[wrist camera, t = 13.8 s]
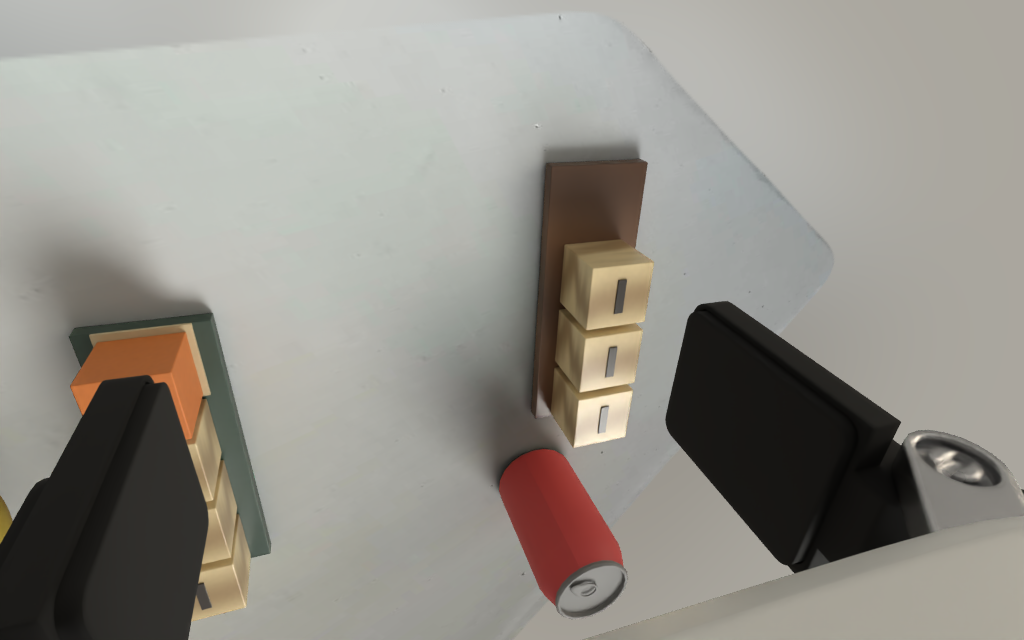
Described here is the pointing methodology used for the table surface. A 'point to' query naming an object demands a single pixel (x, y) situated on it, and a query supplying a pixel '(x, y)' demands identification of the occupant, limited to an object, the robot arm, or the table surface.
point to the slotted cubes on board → (590, 298)
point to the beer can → (562, 534)
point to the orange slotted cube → (145, 371)
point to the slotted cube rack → (209, 461)
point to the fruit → (4, 519)
